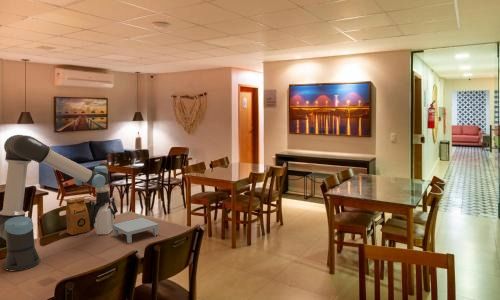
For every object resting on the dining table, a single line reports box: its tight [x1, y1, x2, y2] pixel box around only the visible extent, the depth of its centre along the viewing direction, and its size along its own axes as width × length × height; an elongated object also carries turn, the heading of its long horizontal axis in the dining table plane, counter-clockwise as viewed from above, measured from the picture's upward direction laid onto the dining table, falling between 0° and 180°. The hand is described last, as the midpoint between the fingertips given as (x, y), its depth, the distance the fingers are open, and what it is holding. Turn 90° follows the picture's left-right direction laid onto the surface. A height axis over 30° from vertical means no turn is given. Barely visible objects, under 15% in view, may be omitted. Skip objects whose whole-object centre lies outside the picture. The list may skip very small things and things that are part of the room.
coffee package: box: [65, 197, 91, 236], centre depth 229 cm, size 10×12×22 cm
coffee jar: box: [88, 196, 97, 227], centre depth 246 cm, size 11×11×18 cm
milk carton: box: [95, 202, 113, 235], centre depth 227 cm, size 7×7×19 cm
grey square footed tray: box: [112, 217, 160, 244], centre depth 222 cm, size 20×20×7 cm
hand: (104, 226), depth 228 cm, fingers closed on milk carton, 10 cm apart
